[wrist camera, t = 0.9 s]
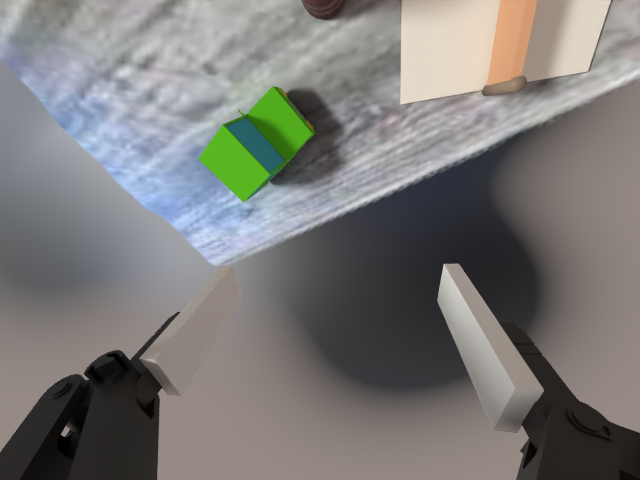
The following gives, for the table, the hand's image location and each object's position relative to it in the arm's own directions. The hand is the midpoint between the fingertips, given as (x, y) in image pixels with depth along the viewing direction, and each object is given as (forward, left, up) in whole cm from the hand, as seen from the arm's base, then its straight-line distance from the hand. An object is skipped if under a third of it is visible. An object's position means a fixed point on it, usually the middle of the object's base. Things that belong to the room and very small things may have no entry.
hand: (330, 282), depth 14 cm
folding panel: (-13, +20, -28) cm, 36 cm away
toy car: (-7, -11, -28) cm, 32 cm away
